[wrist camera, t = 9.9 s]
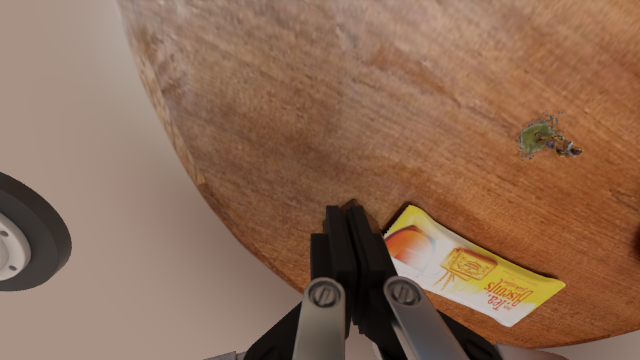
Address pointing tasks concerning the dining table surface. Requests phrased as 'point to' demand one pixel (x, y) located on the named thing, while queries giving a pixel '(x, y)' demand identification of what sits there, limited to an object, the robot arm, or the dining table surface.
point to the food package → (464, 269)
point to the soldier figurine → (546, 140)
